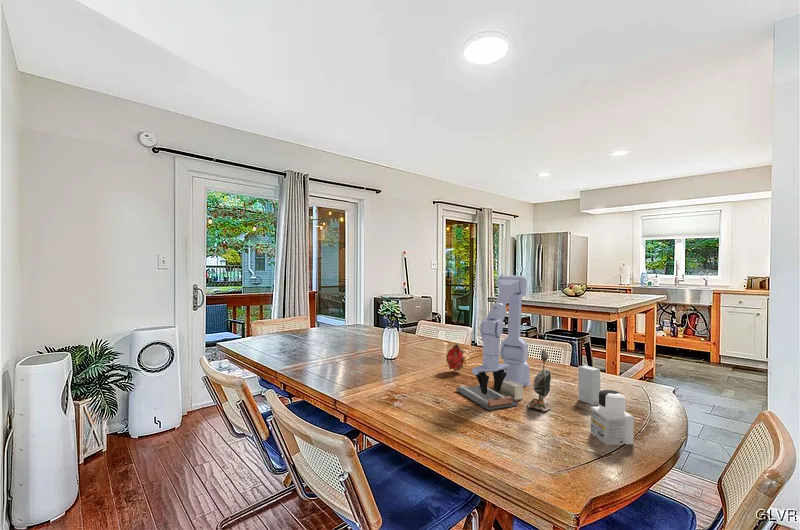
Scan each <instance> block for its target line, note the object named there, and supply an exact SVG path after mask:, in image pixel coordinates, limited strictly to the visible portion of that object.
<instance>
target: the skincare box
mask: <svg viewBox="0 0 800 530" xmlns="http://www.w3.org/2000/svg"><path fill="white" fill-rule="evenodd" d="M577 370H578V371H577V372H578V373H577V374H578V377H577V378H578V379H577V381H578V400H579V401H581V402H584V403H586V404H588V405H589V404H590V405H592V406H594V405H595V406H596V405H599V392H600V391H602V390H601V389H602V388H601V369H600V368H596V367H593V366H589V365H585V364H584V365H579V366H578V367H577Z"/></svg>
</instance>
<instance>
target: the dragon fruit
mask: <svg viewBox="0 0 800 530" xmlns="http://www.w3.org/2000/svg"><path fill="white" fill-rule="evenodd" d="M464 353H465V354H467V351H466V350H461V347H460V345H459V344H457V343H456V344H455V345H453V346H452V347H451V349H449V350H448V352H447V354H446V356H445V357H446V360H445V361H446V363H447V364H448V369H449V370H452V369H453V371H454V372H457V371H461V369H463V368H464V365H466V364H467V362H466V360H465V358H466V357H465V356H463V354H464Z"/></svg>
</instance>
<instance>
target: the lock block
mask: <svg viewBox="0 0 800 530" xmlns="http://www.w3.org/2000/svg"><path fill="white" fill-rule="evenodd" d="M500 394H501V395H503V396H504V397H507V396H510V397H512V398H513V402H515V401H519V400H524V386H523V385H522V384H520V383H517V382H514V381H512V380H504V381H503V383H502V385H501V389H500Z"/></svg>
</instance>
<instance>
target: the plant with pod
mask: <svg viewBox="0 0 800 530" xmlns="http://www.w3.org/2000/svg"><path fill="white" fill-rule="evenodd" d="M540 354H541V357H540V358H541V359H540V360H541V361H542V363H543V367H542V369H541V371H539V372H538V373H537V374H536V376H535V378H534V380H533V383H532V386H533V390H534V392H535V393H536V394H538V398H532V399H531V400H530V401H528V402H527V403H526V405H527V408H528V409H529V408H534V409H536V410H540V411H542V412H547V411H548V410H549V409H550V410H551V408H552V407H551V405H550V403H549V402H547V403H545V398H546V397H547V396H548V395H549V392H550V390H551V389H550V388H551V380H552V379H551V378H552V377H551V372H550V371H551V370H548V369H545V363H546V361H547V360H548V359H549V354H548V352H547V351H546V350H545V349H542V350H541V353H540Z"/></svg>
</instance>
